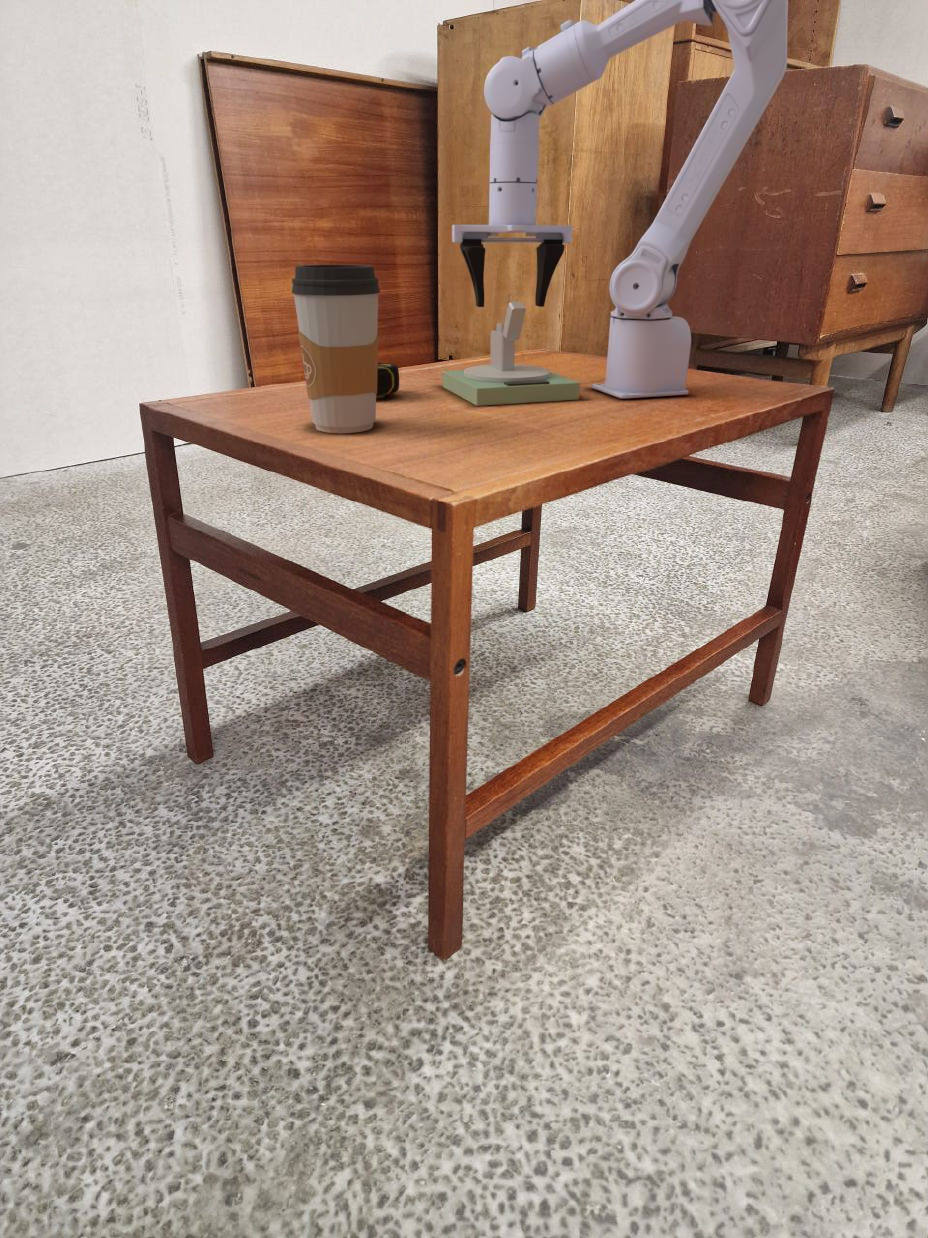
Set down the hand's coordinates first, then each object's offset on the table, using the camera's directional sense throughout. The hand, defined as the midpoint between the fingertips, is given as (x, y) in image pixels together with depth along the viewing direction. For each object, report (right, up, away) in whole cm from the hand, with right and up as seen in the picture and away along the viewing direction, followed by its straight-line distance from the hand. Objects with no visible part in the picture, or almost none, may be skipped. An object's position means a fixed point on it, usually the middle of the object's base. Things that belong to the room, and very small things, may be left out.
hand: (510, 306), depth 101 cm
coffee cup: (-18, -20, -19) cm, 33 cm away
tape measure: (-18, -13, -4) cm, 22 cm away
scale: (0, -12, -2) cm, 12 cm away
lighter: (-1, -9, -2) cm, 9 cm away
